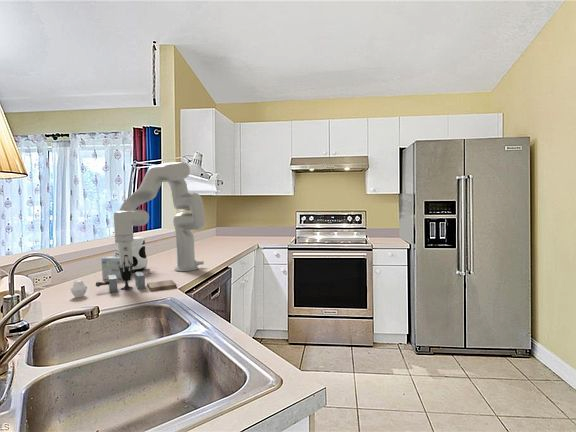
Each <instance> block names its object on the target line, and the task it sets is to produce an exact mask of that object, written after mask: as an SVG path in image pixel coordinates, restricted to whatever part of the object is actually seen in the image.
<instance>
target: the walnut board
mask: <svg viewBox="0 0 576 432" xmlns="http://www.w3.org/2000/svg"><path fill="white" fill-rule="evenodd" d="M146 287H147V288H148V289H149V291H150V292H157V291H163V290H169V289H177V288H178V286H177V283H175V281H174V280H173V279H167V280H160V281H151V282H147V283H146Z"/></svg>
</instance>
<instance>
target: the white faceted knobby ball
mask: <svg viewBox="0 0 576 432" xmlns="http://www.w3.org/2000/svg"><path fill="white" fill-rule="evenodd" d="M69 290H70V291H71V294H72V295H73V297H74V298H75V299H76V298H83V297H84V296H85V294H86V293H87V290H88V286H87V285H86V284H85V282H84V281H83V280H79V279H78V280H75V281H74V282H73V284H72V286H71V287H70V289H69Z"/></svg>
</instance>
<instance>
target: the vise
mask: <svg viewBox="0 0 576 432" xmlns="http://www.w3.org/2000/svg"><path fill="white" fill-rule="evenodd" d="M145 279H146V277H145V274H144V272H143V271H134V280H135V288H136V289H137V290H145V289H146V280H145ZM102 286H108V290H109V294H115V293H118V292H119V290H118V279H117V277H116V275H108V279H107V281H97V282H96V283H95V287H97V288H98V287H99V288H100V287H102Z"/></svg>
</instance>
